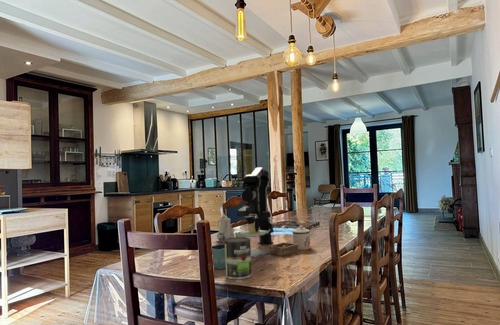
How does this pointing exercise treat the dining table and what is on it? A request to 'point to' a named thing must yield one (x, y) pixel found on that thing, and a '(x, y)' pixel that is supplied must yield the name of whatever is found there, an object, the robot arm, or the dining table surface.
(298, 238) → the teacup with lid
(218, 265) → the flower pot
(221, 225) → the chinaware
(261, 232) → the lid
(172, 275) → the dining table surface
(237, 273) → the coffee can
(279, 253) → the box
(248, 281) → the dining table surface
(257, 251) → the coaster
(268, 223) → the robot arm
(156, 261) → the dining table surface
